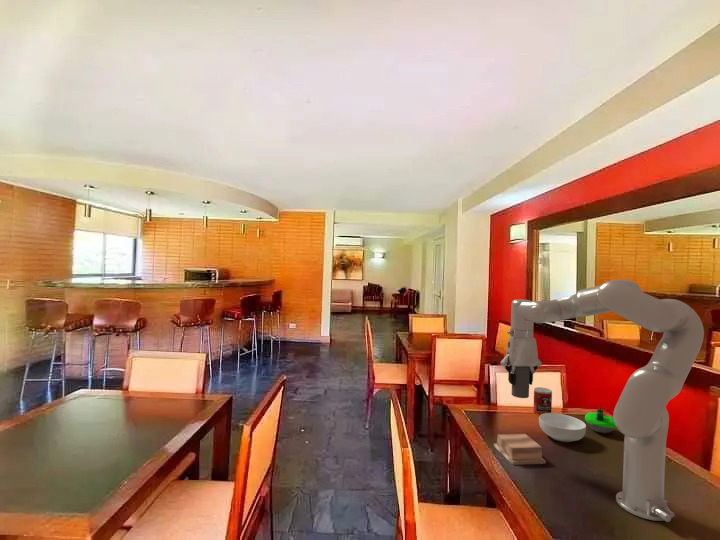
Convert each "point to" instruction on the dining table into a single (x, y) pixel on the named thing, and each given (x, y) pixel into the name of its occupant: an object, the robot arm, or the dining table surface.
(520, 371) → the bottle
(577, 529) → the dining table surface
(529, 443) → the pedestal
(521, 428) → the dining table surface
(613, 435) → the dining table surface
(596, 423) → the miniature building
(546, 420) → the cereal bowl
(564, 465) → the dining table surface
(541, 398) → the canned food
